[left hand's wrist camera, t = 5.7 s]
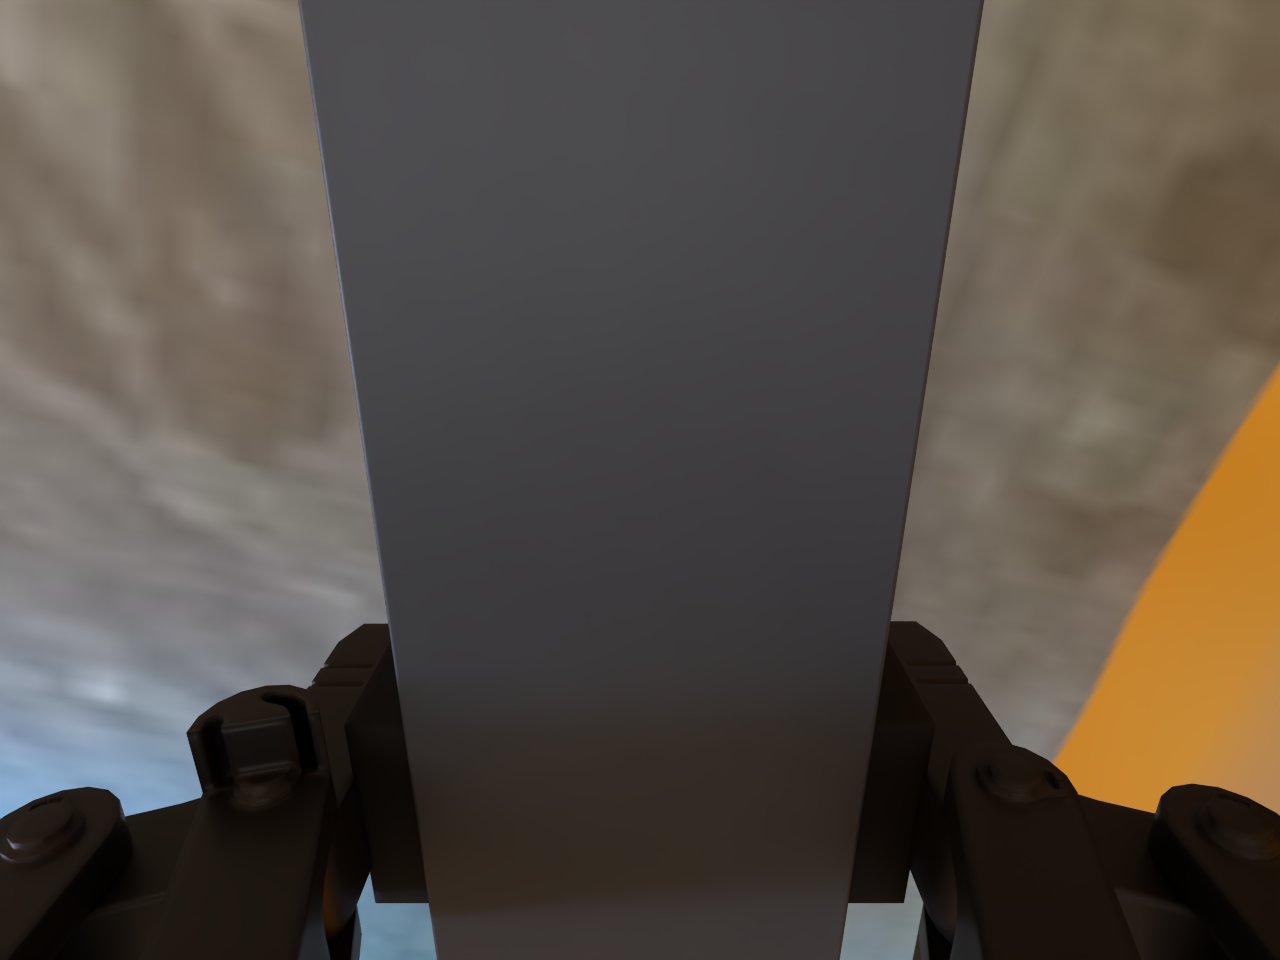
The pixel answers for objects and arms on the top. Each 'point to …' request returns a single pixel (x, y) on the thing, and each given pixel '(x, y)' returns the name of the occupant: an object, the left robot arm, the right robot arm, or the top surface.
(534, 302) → the post
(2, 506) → the top surface
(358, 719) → the left robot arm
